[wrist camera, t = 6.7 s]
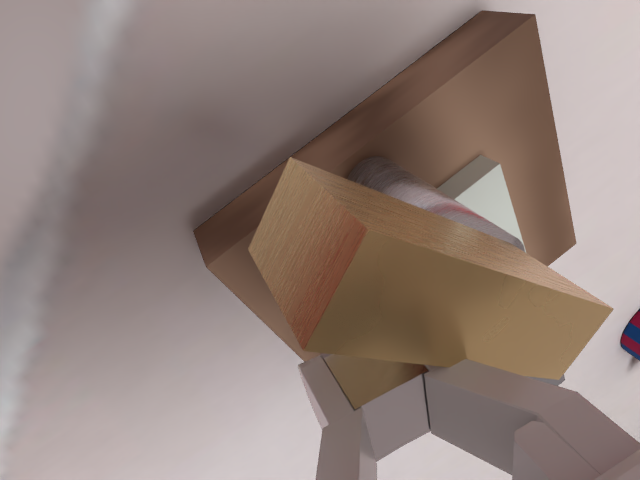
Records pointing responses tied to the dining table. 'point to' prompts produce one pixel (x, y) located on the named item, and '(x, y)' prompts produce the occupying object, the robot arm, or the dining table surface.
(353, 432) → the robot arm
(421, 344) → the post with tan bar
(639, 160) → the dining table surface
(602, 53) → the dining table surface
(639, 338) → the mug
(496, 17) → the housing
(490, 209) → the cover
